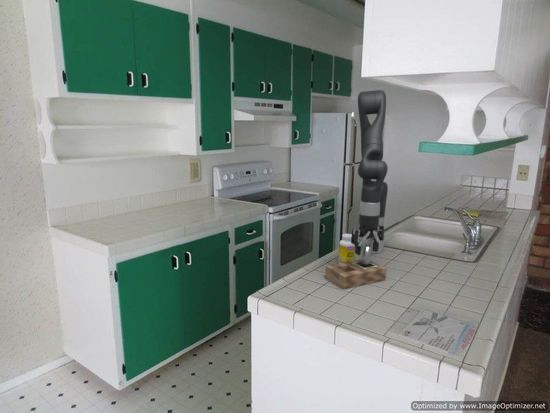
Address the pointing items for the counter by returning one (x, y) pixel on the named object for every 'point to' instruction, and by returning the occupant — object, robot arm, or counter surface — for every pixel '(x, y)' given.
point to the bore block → (354, 274)
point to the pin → (366, 255)
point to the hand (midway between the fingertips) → (366, 252)
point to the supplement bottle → (346, 249)
